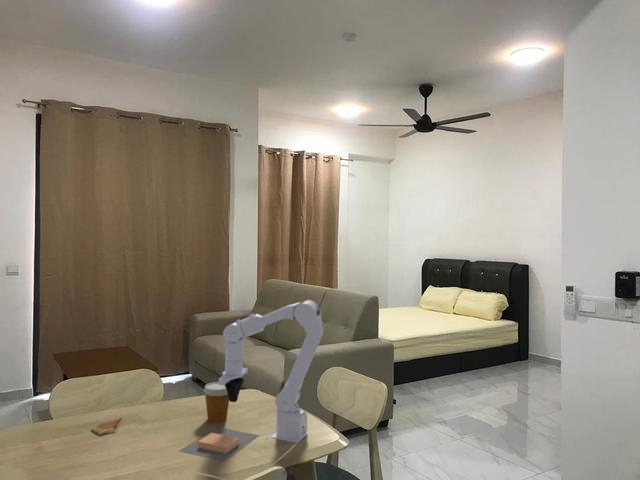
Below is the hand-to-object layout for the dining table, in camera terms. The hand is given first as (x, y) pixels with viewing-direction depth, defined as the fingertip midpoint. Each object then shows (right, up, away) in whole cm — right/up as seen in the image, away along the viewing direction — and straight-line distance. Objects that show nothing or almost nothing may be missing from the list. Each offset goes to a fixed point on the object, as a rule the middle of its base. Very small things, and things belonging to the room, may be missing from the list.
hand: (233, 401), depth 163 cm
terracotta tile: (-1, -8, -9) cm, 13 cm away
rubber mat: (-2, -10, -10) cm, 14 cm away
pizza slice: (-42, -10, +1) cm, 43 cm away
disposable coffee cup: (-7, -10, +9) cm, 15 cm away
